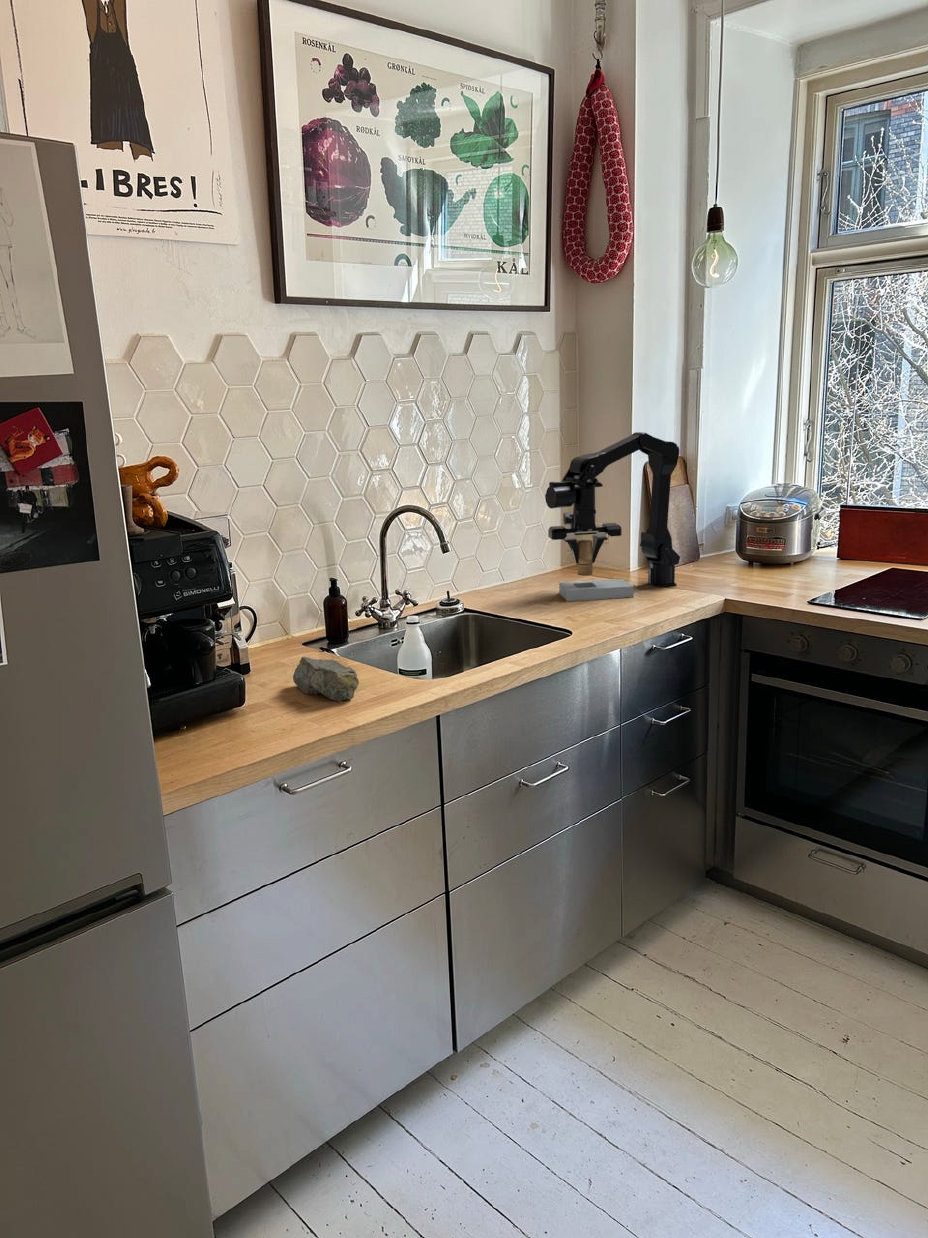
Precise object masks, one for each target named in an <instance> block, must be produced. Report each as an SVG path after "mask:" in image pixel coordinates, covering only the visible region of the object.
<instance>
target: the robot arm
mask: <svg viewBox="0 0 928 1238" xmlns="http://www.w3.org/2000/svg"><path fill="white" fill-rule="evenodd" d="M637 451H640V452H641V453H642V454H644V455H647V460H648V465H649V468H650V470H651V473H652V483H651V495H650V510H649V525H648V528H647V529H646V531H645V532H643V531H641V534H640V543H639V547H641V548H640V549H641V552H642V554H643V555H644V556H645V559H646V562H647V563H648V562H649V567H648V568H647V583H648V584H649V585H651V586H653V587H654V588H657V587H659V588H661V587H674V586H678V585H677V584H678V583H676V582H675V581H676V580H675V579H676V578H675V577H676V573H675V572H676V565H679V563H680V559H681V556H680V555H679V554H678V553H677V551H675V550H674V548H673V541H672V540H673V539H672V538H673V537H672V535H671V533H670V530H669V528H668V523H669V522H668V521H669V509H670V497H671V496H670V495H671V480H672V479H671V478H672V474H673V473H674V471H675V469H676V467H677V465H678V461H679V457H680V446H678V444H677V443H676V442H674V441H665V440H664V439H661V438H657V437H654V436H653V435H651V434H649V433H647V432H643V431H642V432H638V431H636V432H633V433H631V435H629V436H627V437H625V438H623V439H621V440H619V441H617V442H615V443H613V444H611V445H609V446H607V447H605V448H602V449H601V450H599V451H597V452H591V453H585V454H581V455H579V456H576V457H575V456H574V458H572V459H571V460H570V464H569V467H568V469H567V471H566V473H565V474H564V476H563V478H562V480H561V481H549V483H548V485H549V486H548V488H547V489H546V492H545V494H544V498H545V503H546V506H547V507H548V508H549V509H552V510H553V509H558V508H559V509H561V508H568V507H569V508H570V507H572V506H573V507H572V513H571V512H570V511H568V512H567V511H566V512H563V514H562V515H563V516H562V517H563V518H562V522H563V525H564V526H563V525H556V526H555V525H554V526H553V525H552V526H550V527H549V528H548V535H547V536H548V537H549V538H550V539H551V540H552V541H555V540H562V541H564V542H565V543H567V544H568V546H569V548H570V551H571V554H572V556H573V560H574V562H575V564H578V549H577V541H578V539H576V538H575V537H576V536H584V535H585V536H586V535H591V536H592V562H593V564H594V563H595V561H596V559H597V557H598V554H599V552H600V549H601V547H602V546H603V544H604V543H605V541H607V540H609V537H621V536H622V527H621V525H620V524H617V523H616V522H606V523H604V522H603V523H602V525H601V526H597V525H596V514H597V510H596V488H601V487H603V485H604V484H603V483H602V482H600V481H599V480H598V478H597V477H598V476H599V475H600V474H602V473H603V472H604V471H605V470H606V468H607V467H608V466H609V465H612V464H614V463H616V462H617V461H620V460H622V459H624V458H626V457H627V456H629V455H631V454H633V453H636V452H637ZM567 525H568V526H569V525H570V526H569V527H570V528H567V527H565V526H567ZM607 535H608V536H609V537H607Z"/></svg>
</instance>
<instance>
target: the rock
mask: <svg viewBox="0 0 928 1238" xmlns="http://www.w3.org/2000/svg"><path fill="white" fill-rule="evenodd" d="M292 679H293V683H294V684H295V686H297V688H299V690H301V691H302V693H304V694H307V695H312V696H313V695H316V696H319V695H323V696H324V697H326V698H327V699H329V700H331V701H334V702H344V700H352V699H353V698H354V696H355V692H356V690H357V688H358V686H359V684H360V681H359V678H358V676H357V673H356V670H355V669H353V668H351V667H349V666H346V665H343V664H341V663H340V662H339V661H337V660H334V659H321V658H319V659H317V658H316V659H315V658H311V657H308V656H301V658H300V660H299V664H297V665H296V668H295V669H294V672H293V675H292Z"/></svg>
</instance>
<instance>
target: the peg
mask: <svg viewBox="0 0 928 1238" xmlns="http://www.w3.org/2000/svg"><path fill="white" fill-rule="evenodd" d="M592 547H593V539H592V540H591V539H579V540H577V549H578V564H577V575H578V576H584V577H585V576H586V577H588V576H592V575H593V574H594V573H593V565H594V563H593V562H592Z"/></svg>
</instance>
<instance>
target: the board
mask: <svg viewBox="0 0 928 1238" xmlns="http://www.w3.org/2000/svg"><path fill="white" fill-rule="evenodd" d="M558 586H559V587H558V588H559V590H558V591H559V593H558V594H560V596H561V597H562V598H563V599H564V600H565V601H566V602H577V601H579V602H580V601H593V600H594V601H595V600H609V598H613V599H626V598H625V597H629V598H634V585H632V584H631V583H630V582H628V580H626V579H624V578H614V579H598V580H597V579H595V580H582V581H581V580H580V581H566V582H565V581H563V582H559V585H558Z"/></svg>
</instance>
